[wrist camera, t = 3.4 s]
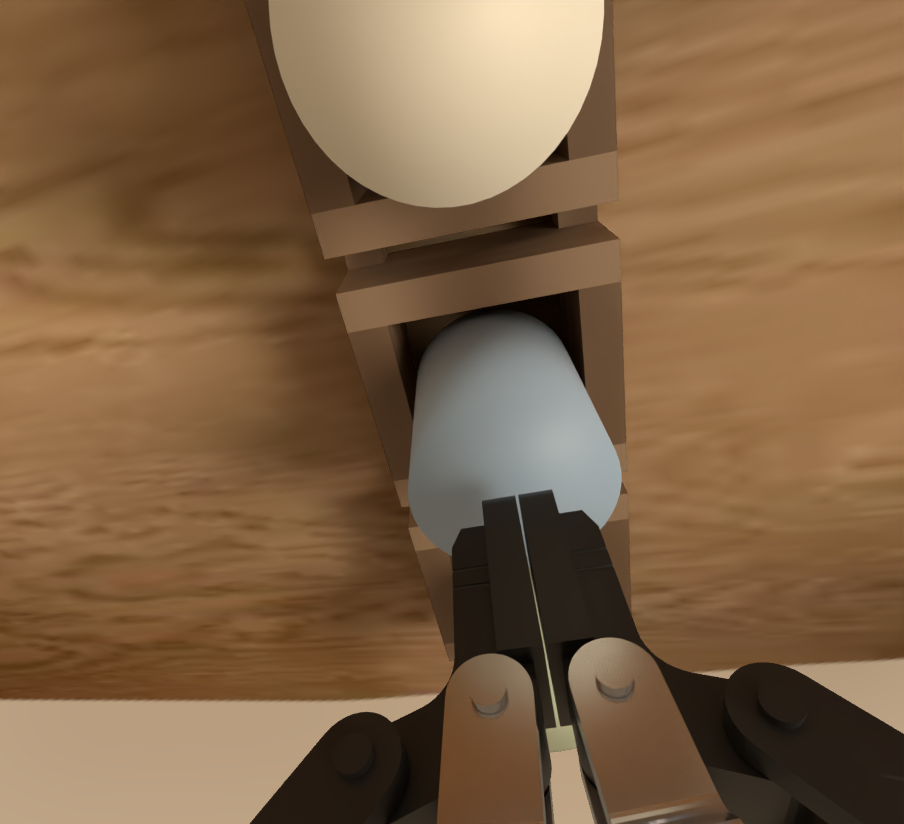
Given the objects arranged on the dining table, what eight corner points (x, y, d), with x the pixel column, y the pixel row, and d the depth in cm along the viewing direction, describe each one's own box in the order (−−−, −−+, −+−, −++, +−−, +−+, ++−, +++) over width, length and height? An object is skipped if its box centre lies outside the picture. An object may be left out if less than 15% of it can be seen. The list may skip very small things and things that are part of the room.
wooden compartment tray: (565, -188, 13) (603, -275, 10) (609, 578, 26) (632, 642, 23) (249, -106, 14) (193, -164, 11) (450, 601, 27) (451, 666, 24)
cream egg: (586, 38, 13) (674, 4, 8) (453, 209, 15) (459, 265, 10) (419, -149, 11) (403, -332, 6) (293, 73, 13) (208, 61, 8)
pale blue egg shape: (603, 371, 17) (666, 479, 13) (500, 470, 19) (519, 595, 14) (486, 275, 16) (507, 355, 11) (385, 393, 18) (365, 506, 13)
